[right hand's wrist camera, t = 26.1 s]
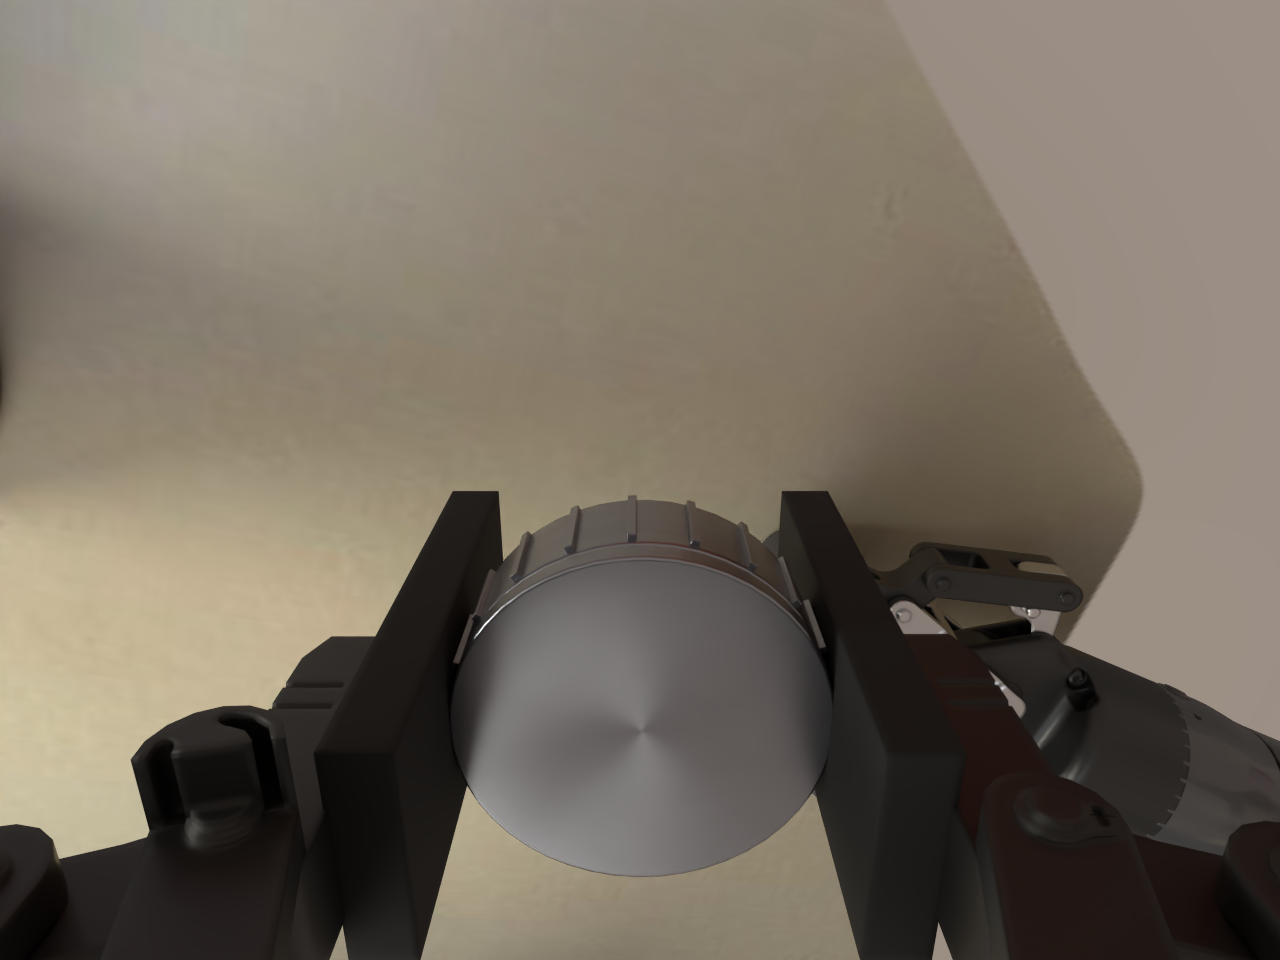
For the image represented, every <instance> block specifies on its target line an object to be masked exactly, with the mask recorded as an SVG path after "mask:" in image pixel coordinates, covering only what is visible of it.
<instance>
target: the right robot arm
mask: <svg viewBox="0 0 1280 960" xmlns="http://www.w3.org/2000/svg"><path fill="white" fill-rule="evenodd" d="M782 556H783V557H784V558H785V559H786V560H787V562H788V565H789V568H790V571H791V574H792V577H793V580H794V582H795V584H796V586H797V588H798V590H799V593H800V595H801V597H802V599H803V601H805V600H808V599H809V600H810V603H811V606H812V609H813V611H814V614H815V617H816V620H817V622H818V625H819V628H820V630H821V633H822V636H823V639H824V641H825V644H826V647H827V650H828V653H826V654H823V655H822V656H823V658H824V661H825V664H826V667H827V669H828V673H829V677H830V680H831V684H832V688H833V711H832V721H831V731H830V741H829V751H828V760H827V763H826V766H825V769H824V771H823V774H822V776H821V778H820V780H819V781H818V783H817V785H816V787H815V789H814V790H815V793H816V797H817V801H818V804H819V808H820V812H821V816H822V819H823V823H824V827H825V831H826V834H827V838H828V842H829V846H830V849H831V853H832V857H833V860H834V864H835V868H836V872H837V875H838V879H839V883H840V887H841V890H842V894H843V898H844V902H845V905H846V909H847V913H848V916H849V920H850V924H851V928H852V931H853V935H854V939H855V943H856V946H857V950H858V954H859V958H860V960H932V956H933V950H934V944H935V938H936V932H937V927H938V922H939V924H940V927H941V930H942V932H943V935H944V938H945V940H946V943H947V945H948V948H949V951H950V953H951V956H952V959H953V960H1280V823H1279V822H1271V821H1261V822H1255V823H1249V824H1243V825H1241V826H1240V827H1239V828H1238V829H1237V830H1236V831H1234V832H1233V833H1232V834H1231V835H1230V836H1229V838H1228V841H1227V844H1226V848H1225V851H1224V854H1223V856H1221V855H1217V854H1212V853H1208V852H1204V851H1199V850H1195V849H1191V848H1186V847H1182V846H1177V845H1173V844H1169V843H1164V842H1160V841H1156V840H1153V839H1150V838H1146V837H1143V836H1140V835H1136V834H1133V833H1132V832H1131V830H1130V828H1129V826H1128V825H1127V823H1126V822H1125V820H1124V819H1123V817H1122V816H1121V814H1120V813H1119V811H1118V810H1117V809H1116V808H1115V807H1113V806H1112V805H1111V804H1110V803H1109V802H1107V801H1106V800H1105V799H1104V798H1102V797H1101V796H1100V795H1099V794H1098V793H1096V792H1094V791H1092V790H1090V789H1088V788H1086V787H1084V786H1082V785H1080V784H1078V783H1076V782H1074V781H1072V780H1070V779H1067V778H1063V777H1059V776H1058V775H1057V774H1056V772H1055V771H1054V769H1053V768H1052V766H1051V765H1050V763H1049V762H1048V760H1047V758H1046V757H1045V755H1044V754H1043V752H1042V751H1041V749H1040V748H1039V746H1038V745H1037V743H1036V742H1035V740H1034V739H1033V737H1032V736H1031V734H1030V733H1029V731H1028V730H1027V728H1026V726H1025V725H1024V723H1023V722H1022V720H1021V719H1020V717H1019V716H1018V714H1017V713H1016V711H1015V710H1014V708H1013V707H1012V706H1009V703H1008V699H1007V698H1006V696H1005V694H1004V693H1003V691H1002V690H1001V688H1000V687H999V685H995V679H994V678H993V676H992V675H991V673H990V672H989V670H988V669H987V667H986V666H985V664H984V663H983V661H982V659H981V658H980V656H979V655H978V654H976V653H975V652H974V651H972V650H971V649H969V648H968V647H967V646H965V645H964V644H963V643H961V642H960V641H958V640H957V639H956V638H954V637H953V636H952V635H950V634H904V633H903V632H902V630H901V628H900V626H899V624H898V622H897V620H896V618H895V617H894V615H893V613H892V611H891V609H890V607H889V605H888V603H887V602H886V600H885V598H884V596H883V594H882V592H881V590H880V588H879V587H878V585H877V583H876V581H875V579H874V577H873V575H872V573H871V572H870V570H869V568H868V566H867V564H866V562H865V560H864V558H863V557H862V555H861V553H860V551H859V549H858V547H857V545H856V543H855V542H854V540H853V538H852V536H851V534H850V532H849V530H848V528H847V527H846V525H845V523H844V521H843V519H842V517H841V515H840V513H839V512H838V510H837V508H836V506H835V504H834V502H833V500H832V498H831V497H830V495H829V493H828V491H782V498H781V514H780V529H779V544H778V559H779V558H780V557H782ZM502 563H503V552H502V536H501V521H500V506H499V491H453V492H452V494H451V496H450V498H449V499H448V501H447V503H446V505H445V507H444V509H443V511H442V513H441V514H440V516H439V518H438V520H437V522H436V524H435V526H434V528H433V529H432V531H431V533H430V535H429V537H428V539H427V541H426V543H425V544H424V546H423V548H422V550H421V552H420V554H419V556H418V558H417V559H416V561H415V563H414V565H413V567H412V569H411V571H410V573H409V574H408V576H407V578H406V580H405V582H404V584H403V586H402V588H401V590H400V591H399V593H398V595H397V597H396V599H395V601H394V603H393V605H392V606H391V608H390V610H389V612H388V614H387V616H386V618H385V620H384V621H383V623H382V625H381V627H380V629H379V631H378V633H377V635H376V636H375V637H330V638H329V639H327V640H326V641H325V642H323V643H322V644H321V645H319V646H318V647H317V648H315V649H314V650H312V651H311V652H310V653H308V654H307V655H306V656H304V657H303V658H302V659H301V661H300V662H299V664H298V665H297V667H296V668H295V670H294V671H293V673H292V675H291V676H290V678H289V679H288V681H287V682H286V688H282V690H281V691H280V693H279V694H278V696H277V698H276V699H275V701H274V702H273V707H272V709H269V710H265V709H261V708H257V707H253V706H222V707H218V708H214V709H210V710H205V711H201V712H197V713H194V714H191V715H189V716H187V717H185V718H182V719H180V720H178V721H175V722H173V723H171V724H169V725H167V726H165V727H164V728H163V729H161V730H160V731H158V732H157V733H156V734H154V735H153V736H151V737H150V738H149V739H147V740H146V741H145V742H144V743H143V744H142V746H141V747H140V748H139V750H138V751H137V752H136V753H135V755H134V756H133V757H132V759H131V763H132V767H133V770H134V774H135V778H136V782H137V785H138V789H139V793H140V797H141V800H142V804H143V808H144V811H145V815H146V819H147V823H148V826H149V830H150V831H149V834H148V836H147V837H146V838H143V839H140V840H136V841H133V842H130V843H126V844H123V845H119V846H114V847H110V848H106V849H101V850H97V851H92V852H88V853H84V854H79V855H75V856H71V857H66V858H62V859H59V858H58V855H57V852H56V849H55V845H54V842H53V839H51V838H50V837H49V836H48V835H47V834H46V833H45V832H43V831H42V830H41V829H40V828H36V827H30V826H24V825H18V824H15V825H7V826H0V960H329V959H330V957H331V954H332V951H333V949H334V946H335V943H336V941H337V938H338V935H339V933H340V930H341V928H342V925H343V930H344V935H345V941H346V947H347V953H348V959H349V960H420V959H421V956H422V952H423V948H424V945H425V941H426V937H427V933H428V930H429V926H430V922H431V918H432V915H433V911H434V907H435V903H436V900H437V896H438V892H439V888H440V885H441V881H442V877H443V874H444V870H445V866H446V862H447V859H448V855H449V851H450V847H451V844H452V840H453V836H454V832H455V829H456V825H457V821H458V818H459V814H460V810H461V806H462V803H463V799H464V795H465V791H466V788H467V784H466V782H465V780H464V778H463V776H462V774H461V772H460V770H459V767H458V765H457V762H456V758H455V755H454V752H453V748H452V743H451V733H450V723H449V699H450V693H451V688H452V682H453V679H454V676H455V673H456V670H455V669H454V667H453V661H454V658H455V655H456V652H457V650H458V647H459V644H460V641H461V638H462V636H463V633H464V630H465V627H466V625H467V622H468V619H469V616H470V614H472V615H473V613H474V610H475V607H476V604H477V601H478V598H479V596H480V593H481V590H482V587H483V584H484V581H485V579H486V576H487V574H488V572H489V570H490V569H492V570H494V571H495V572H496V571H497V569H498V568H499V567H500V565H501V564H502Z"/></svg>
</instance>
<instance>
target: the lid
mask: <svg viewBox="0 0 1280 960" xmlns="http://www.w3.org/2000/svg"><path fill="white" fill-rule="evenodd" d="M826 653H828V650H827V647H826V644H825V641H824V639H823V636H822V633H821V630H820V628H819V625H818V622H817V620H816V617H815V614H814V611H813V609H812V606H811V603H810V600H809V599H808V600H805V601H803V599H802V597H801V595H800V593H799V590H798V588H797V586H796V584H795V582H794V580H793V577H792V574H791V571H790V568H789V565H788V562H787V560H786V559H785V558H784V557H783V556H782V557H780V558H779V559H777V557H776V556H775V555H774V554H773V553H772V552H771V551H770V550H769V549H768V548H767V547H766V546H765V545H763V544H762V543H761V542H760V541H759V540H758V539H757V538H756V537H754V536H753V535H751V534H750V533H749V531H748V527H747V525H746V524H744V523H743V522H740V523H739V524H738V525H736V524H734V523H732V522H730V521H728V520H726V519H724V518H722V517H720V516H718V515H716V514H713V513H710V512H707V511H704V510H701V509H698V508H696V506H695V502H692V501H687V503H686V505H682V504H678V503H673V502H665V501H653V500H637V496H636V495H633V496H628V501H619V502H612V503H606V504H600V505H596V506H593V507H589V508H585V509H582V510H580V508H579V506H575V507H572V508H571V511H570V514H569V515H566V516H564V517H562V518H559V519H557V520H555V521H553V522H552V523H550V524H548V525H546V526H545V527H543V528H541V529H540V530H538V531H536V532H535V533H534V534H532V535H531V534H530V533H529V532H528V531H527V532H526V533H525V534H523V535H522V538H521V541H520V545H519V546H518V547H517V548H516V549H515V550H514V551H513V552H512V553H511V554H510V555H509V556H508V557H507V558H506V559H505V560H504V561H503V563H502V564H501V565H500V567H499V568H498V569H497V571H496V572H495V571H494V570H492V569H490V570H489V572H488V574H487V576H486V579H485V581H484V584H483V587H482V590H481V593H480V596H479V598H478V601H477V604H476V607H475V610H474V613H473V615H472V614H470V616H469V619H468V622H467V625H466V627H465V630H464V633H463V636H462V638H461V641H460V644H459V647H458V650H457V652H456V655H455V658H454V661H453V667H454V669H455V670H456V673H455V676H454V679H453V682H452V688H451V693H450V699H449V723H450V733H451V743H452V748H453V752H454V755H455V758H456V762H457V765H458V767H459V770H460V772H461V774H462V776H463V778H464V780H465V782H466V784H467V786H468V787H469V789H470V790H471V792H472V793H473V795H474V797H475V798H476V800H477V801H478V803H479V804H480V805H481V806H482V807H483V808H484V809H485V811H486V812H487V813H488V814H489V815H490V816H491V817H492V819H493V820H495V821H496V822H497V823H498V824H499V825H500V826H501V827H503V828H504V829H505V830H506V831H507V832H508V833H509V834H511V835H512V836H514V837H515V838H517V839H518V840H520V841H521V842H522V843H524V844H525V845H527V846H528V847H530V848H532V849H534V850H536V851H538V852H540V853H542V854H544V855H545V856H547V857H550V858H552V859H555V860H557V861H560V862H562V863H565V864H567V865H570V866H574V867H577V868H581V869H585V870H588V871H592V872H598V873H604V874H609V875H618V876H631V877H650V876H666V875H673V874H681V873H686V872H691V871H695V870H699V869H703V868H707V867H710V866H713V865H716V864H719V863H721V862H724V861H727V860H729V859H731V858H734V857H736V856H738V855H740V854H742V853H744V852H746V851H748V850H750V849H752V848H753V847H755V846H756V845H758V844H760V843H761V842H763V841H765V840H766V839H768V838H769V837H770V836H771V835H773V834H774V833H775V832H776V831H778V830H779V829H780V828H781V827H783V826H784V825H785V824H786V823H787V822H788V821H789V820H790V819H791V818H792V817H793V816H794V815H795V814H796V813H797V812H798V811H799V810H800V808H801V807H802V806H803V804H804V803H805V802H806V800H807V799H808V798H809V796H810V795H811V794H812V792H813V790H814V789H815V787H816V785H817V783H818V781H819V780H820V778H821V776H822V774H823V771H824V769H825V766H826V763H827V760H828V751H829V741H830V731H831V721H832V711H833V688H832V684H831V680H830V677H829V673H828V669H827V667H826V664H825V661H824V658H823V656H822V655H823V654H826Z"/></svg>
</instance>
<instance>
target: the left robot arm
mask: <svg viewBox="0 0 1280 960" xmlns="http://www.w3.org/2000/svg"><path fill="white" fill-rule="evenodd" d="M868 568H869V570H870V572H871V573H872V575H873V577H874V579H875V581H876V583H877V585H878V587H879V588H880V590H881V592H882V594H883V596H884V598H885V600H886V602H887V603H888V605H889V607H890V609H891V611H892V613H893V615H894V617H895V618H896V620H897V622H898V624H899V626H900V628H901V630H902V632H903V633H904V634H950V635H952V636H953V637H954V638H956V639H957V640H958V641H960V642H961V643H963V644H964V645H965V646H967V647H968V648H969V649H971V650H972V651H974V652H975V653H976V654H978V655H979V656H980V658H981V659H982V661H983V663H984V664H985V666H986V667H987V669H988V670H989V672H990V673H991V675H992V676H993V678H994V679H995V685H999V687H1000V688H1001V690H1002V691H1003V693H1004V694H1005V696H1006V698H1007V699H1008V703H1009V706H1012V707H1013V708H1014V710H1015V711H1016V713H1017V714H1018V716H1019V717H1020V719H1021V720H1022V722H1023V723H1024V725H1025V726H1026V728H1027V730H1028V731H1029V733H1030V734H1031V736H1032V737H1033V739H1034V740H1035V742H1036V743H1037V745H1038V746H1039V748H1040V749H1041V751H1042V752H1043V754H1044V755H1045V757H1046V758H1047V760H1048V762H1049V763H1050V765H1051V766H1052V768H1053V769H1054V771H1055V772H1056V774H1057V775H1058V776H1059V777H1063V778H1067V779H1070V780H1072V781H1074V782H1076V783H1078V784H1080V785H1082V786H1084V787H1086V788H1088V789H1090V790H1092V791H1094V792H1096V793H1098V794H1099V795H1100V796H1101V797H1102V798H1104V799H1105V800H1106V801H1107V802H1109V803H1110V804H1111V805H1112V806H1113V807H1115V808H1116V809H1117V810H1118V811H1119V813H1120V814H1121V816H1122V817H1123V819H1124V820H1125V822H1126V823H1127V825H1128V826H1129V828H1130V830H1131V832H1132V833H1133V834H1136V835H1140V836H1143V837H1146V838H1150V839H1153V840H1156V841H1160V842H1164V843H1169V844H1173V845H1177V846H1182V847H1186V848H1191V849H1195V850H1199V851H1204V852H1208V853H1212V854H1217V855H1221V856H1223V854H1224V851H1225V848H1226V844H1227V841H1228V838H1229V836H1230V835H1231V834H1232V833H1233V832H1234V831H1236V830H1237V829H1238V828H1239V827H1240V826H1241V825H1243V824H1249V823H1255V822H1261V821H1271V822H1279V823H1280V741H1278V740H1275V739H1273V738H1271V737H1268V736H1266V735H1264V734H1261V733H1259V732H1256V731H1254V730H1252V729H1249V728H1247V727H1244V726H1242V725H1240V724H1238V723H1236V722H1234V721H1232V720H1231V719H1229V718H1227V717H1226V716H1224V715H1223V714H1221V713H1219V712H1218V711H1216V710H1214V709H1213V708H1211V707H1209V706H1207V705H1206V704H1204V703H1201V702H1199V701H1197V700H1195V699H1193V698H1190V697H1188V696H1187V695H1185V693H1183V692H1182V691H1180V690H1178V689H1176V688H1174V687H1171V686H1169V685H1167V684H1165V685H1164V684H1160V683H1155V682H1153V681H1150V680H1148V679H1146V678H1143V677H1141V676H1139V675H1136V674H1134V673H1131V672H1129V671H1127V670H1124V669H1122V668H1120V667H1117V666H1115V665H1112V664H1110V663H1108V662H1105V661H1103V660H1101V659H1098V658H1096V657H1093V656H1091V655H1089V654H1086V653H1084V652H1082V651H1079V650H1077V649H1075V648H1072V647H1070V646H1066V645H1063V644H1061V643H1060V641H1059V640H1058V639H1056V638H1055V637H1054V633H1055V630H1056V627H1057V625H1058V622H1059V619H1060V616H1061V613H1062V612H1069V611H1072V610H1074V609H1075V608H1077V607H1078V606H1079V605H1080V603H1081V602H1082V599H1083V593H1082V590H1081V589H1080V588H1079V587H1078V586H1077V585H1076V584H1075V583H1074V582H1073V581H1072V579H1071V578H1070V577H1069V576H1068V575H1067V574H1066V573H1065V572H1064V571H1063V570H1062V569H1061V568H1060V567H1059V566H1058V565H1057V564H1056V563H1055V562H1054V561H1053V560H1052V559H1051V558H1050V557H1047V556H1042V555H1033V554H1025V553H1016V552H1008V551H999V550H991V549H982V548H974V547H965V546H957V545H948V544H940V543H931V542H922V543H919V544H917V545H915V546H914V547H913V548H912V550H911V551H910V554H909V560H908V561H906V562H905V563H904V564H903V565H901V566H900V567H899V568H897V569H895V570H893V571H889V572H881V571H878V570H875V569H873V568H870V567H868ZM936 597H937V598H945V599H953V600H962V601H971V602H979V603H988V604H997V605H1005V606H1009V608H1010V609H1011V610H1012V612H1013V613H1014V614H1015V615H1017V616H1019V617H1023V619H1017V620H1011V621H1006V622H1000V623H994V624H988V625H982V626H976V627H970V628H965V629H964V628H963V627H962V626H960V625H959V624H958V623H957V622H956V621H955V620H953V619H952V618H951V617H950V616H949V615H948V614H946V613H945V612H944V611H943V610H942V609H940V608H939V607H938V606H937V605H936V604H935V603H933V602H932V601H933V600H934V599H935V598H936Z"/></svg>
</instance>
